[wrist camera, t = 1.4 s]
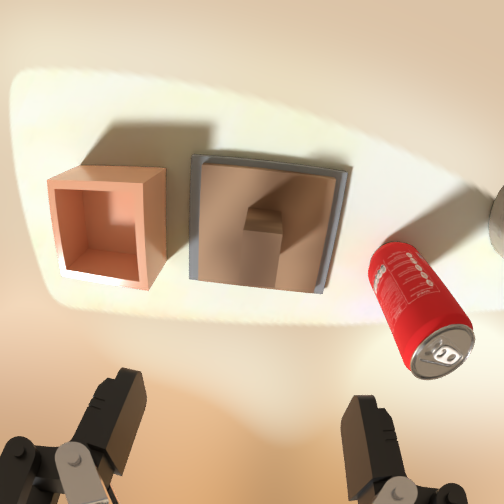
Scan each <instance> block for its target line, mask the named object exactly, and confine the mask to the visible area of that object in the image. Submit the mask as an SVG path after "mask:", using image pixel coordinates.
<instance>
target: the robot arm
mask: <svg viewBox="0 0 504 504" xmlns="http://www.w3.org/2000/svg"><path fill="white" fill-rule="evenodd" d="M489 236H490V240H491V244H492V246H493V247H494V249H495V251H496V252H497V253H498V254H499V255H500V256H502V257H503V258H504V186H503V187H502V188H501V190H500V191H499V193H498V195H497V197H496V199H495V201H494V204H493V207H492V209H491V214H490V219H489ZM146 402H147V396H146V390H145V386H144V381H143V377H142V373H141V372H140V371H136V370H131V369H127V368H121V369H120V370H119V372H118V374H117V376H116V378H115V379H111V378H107V379H106V380H105V381H103V382H102V383H101V384H100V385H99V386H98V388H97V389H96V391H95V393H94V395H93V399H91V401H90V403H89V407H87V409H86V411H85V413H84V416H83V418H82V420H81V422H80V424H79V426H78V428H77V430H76V432H75V434H74V436H73V438H72V439H71V440H70V441H69V442H67V443H64V444H62V445H61V446H60V447H46V446H35V445H34V444H33V443H32V442H31V441H30V440H29V439H27V438H25V437H21V436H17V437H14V438H12V439H10V440H9V441H8V442H7V443H6V445H5V448H4V449H3V452H2V454H1V456H0V504H57V502H58V499H59V496H60V494H61V493H62V494H65V495H66V498H67V501H68V504H120V502H119V500H118V498H117V496H116V493H115V491H114V489H113V487H112V484H111V479H112V476H113V474H116V475H120V476H122V474H123V471H124V468H125V465H126V463H127V460H128V457H129V454H130V451H131V448H132V445H133V442H134V439H135V436H136V433H137V430H138V428H139V425H140V422H141V419H142V416H143V413H144V411H145V407H146ZM341 437H342V445H343V453H344V461H345V470H346V478H347V488H348V499H349V501H352V500H358V504H468V502H467V497H466V493H465V491H464V489H463V488H462V487H461V486H460V485H458V484H455V483H448V484H446V485H444V486H442V487H441V488H440V489H436V488H427V487H421V486H417V485H415V483H414V482H413V481H412V480H411V479H409V478H408V477H407V476H406V473H405V470H404V465H403V461H402V457H401V453H400V448H399V444H398V441H397V436H396V433H395V428H394V425H393V421H392V418H391V416H390V415H389V414H388V413H387V411H386V410H385V408H377V403H376V399H375V397H374V396H373V395H354V397H353V398H352V400H351V402H350V404H349V406H348V408H347V409H346V411H345V413H344V415H343V417H342V420H341Z"/></svg>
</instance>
